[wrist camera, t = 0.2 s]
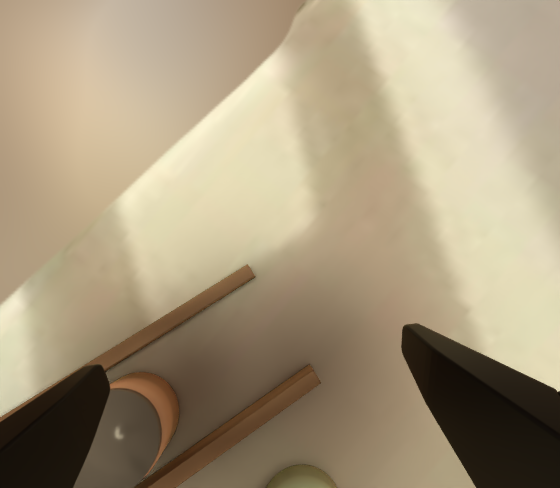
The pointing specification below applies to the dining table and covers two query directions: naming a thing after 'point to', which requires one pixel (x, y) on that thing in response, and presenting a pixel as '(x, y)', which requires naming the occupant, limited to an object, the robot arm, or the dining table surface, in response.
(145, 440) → the terracotta jar
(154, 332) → the lane
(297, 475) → the green jar
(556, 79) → the dining table surface
